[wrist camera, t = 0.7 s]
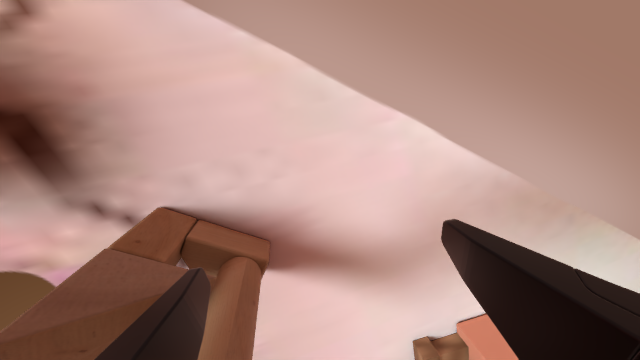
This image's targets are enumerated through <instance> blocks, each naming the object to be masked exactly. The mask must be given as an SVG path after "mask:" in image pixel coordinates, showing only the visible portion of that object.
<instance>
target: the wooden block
mask: <svg viewBox="0 0 640 360" xmlns="http://www.w3.org/2000/svg"><path fill="white" fill-rule="evenodd" d="M269 255H270V242H269V241H266V240H263V239H260V238H257V237H254V236H250V235H247V234H244V233H241V232H238V231H234V230H231V229H228V228H225V227H222V226H219V225H215V224H212V223H209V222H206V221H203V220H199V221H198V222H197V219H196V218H194V217H190V216H187V215H184V214H181V213H178V212H174V211H171V210H168V209H165V208H157V209H156V210H154V211H153V212H152V213H151V214H149V215H148V216H147V217H146V218H144V219H143V220H142V221H141V222H139V223H138V224H137V225H136V226H134V227H133V228H132V229H130V230H129V231H128V232H127V233H125V234H124V235H123V236H122V237H120V238H119V239H118V240H117V241H115V242H114V243H113V244H112V245H110V246H109V247H108V248H107V249H104V250H103V251H101V252H100V253H99V254H98V255H96V256H95V257H94V258H93V259H91V260H90V261H89V262H88V263H86V264H85V265H84V266H83V267H81V268H80V269H79V270H77V271H76V272H75V273H74V274H72V275H71V276H70V277H69V278H67V279H66V280H65V281H64V282H62V283H61V284H60V285H58V286H57V287H56V288H55V289H53V290H52V291H51V292H50V293H48V294H47V295H46V296H45V297H43V298H42V299H41V300H40V301H38V302H37V303H36V304H35V305H33V306H32V307H31V308H29V309H28V310H27V311H26V312H24V313H23V314H22V315H21V316H19V317H18V318H17V319H15V320H14V321H13V322H12V323H10V324H9V325H8V326H7V327H5V328H4V329H3V330H2V331H0V360H94V359H95V358H96V357H97V356H98V355H99V354H100V353H101V352H102V351H103V350H105V349H106V348H107V347H108V346H109V345H110V344H111V343H112V342H113V341H114V340H115V339H116V338H117V337H118V336H119V335H120V334H121V333H123V332H124V331H125V330H126V329H127V328H128V327H129V326H130V325H131V324H132V323H133V322H134V321H135V320H136V319H137V318H138V317H139V316H140V315H142V314H143V313H144V312H145V311H146V310H147V309H148V308H149V307H150V306H151V305H152V304H153V303H154V302H155V301H156V300H157V299H158V298H159V297H161V296H162V295H163V294H164V293H165V292H166V291H167V290H168V289H169V288H170V287H171V286H172V285H173V284H174V283H175V282H176V281H177V280H178V279H180V278H181V277H182V276H183V275H184V274H185V273H186V272H187V271H188V269H184V268H180V267H177V266H176V265H177V263H178V262H179V260H180V259H181V257H182V259H183V260H184V262H185V263H186V265H187V266H188V268H189V269H192V268H198V267H202V268H203V269H204V271H205V273H206V275H207V277H208V279H209V281H210V284H211V291H210V298H209V305H208V312H207V319H206V325H205V331H204V336H203V340H202V344H201V348H200V352H199V356H198V360H252V356H253V347H254V338H255V329H256V320H257V311H258V302H259V293H260V284H261V279H262V277H263V275H264V272H265V270H266V268H267V266H268V263H269Z"/></svg>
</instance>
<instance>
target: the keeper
mask: <svg viewBox="0 0 640 360" xmlns="http://www.w3.org/2000/svg"><path fill="white" fill-rule="evenodd" d="M457 333H458V334H459V336H460V337H461V338H462V339H463V341H464V342H465V343H466V344H467V346H468V347H469V360H519V359H518V358H517V356H516V355H515V353H514V352H513V351H512V349H511V348H510V346H509V345H508V344H507V342H506V341H505V339H504V338H503V336H502V335H501V334H500V332H499V331H498V329H497V328H496V326H495V325H494V324H493V322H492V321H491V319H490V318H489V316H488V315H487V314H486V315H483V316H480V317H477V318H474V319H470V320H467V321H464V322H461V323H458V324H457Z"/></svg>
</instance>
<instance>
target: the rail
mask: <svg viewBox="0 0 640 360" xmlns="http://www.w3.org/2000/svg"><path fill="white" fill-rule="evenodd" d="M413 347H414V356H415V360H469V347H468V346H467V344H466V343H465V342H464V341H463V339H462V338H461V337H460V336H459V334H458V333H455V334H452V335H449V336H446V337H442V338H439V339H436V340H433V341H430V340H429V339H428V337H424V338H421V339H418V340H414V341H413Z"/></svg>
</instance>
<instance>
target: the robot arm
mask: <svg viewBox="0 0 640 360" xmlns="http://www.w3.org/2000/svg"><path fill="white" fill-rule="evenodd" d="M441 240H442V243H443V245H444V247H445V249H446V251H447V253H448V254H449V256H450V258H451V260H452V261H453V263H454V265H455V267H456V269H457V270H458V272H459V274H460V276H461V277H462V279H463V281H464V282H465V284H466V285H467V287H468V288H469V289H470V291H471V292H472V294H473V295H474V297H475V298H476V299H477V301H478V302H479V304H480V305H481V306H482V308H483V309H484V311H485V312H486V314H487V315H488V316H489V318H490V319H491V321H492V322H493V324H494V325H495V326H496V328H497V329H498V331H499V332H500V334H501V335H502V336H503V338H504V339H505V341H506V342H507V344H508V345H509V346H510V348H511V349H512V351H513V352H514V353H515V355H516V356H517V358H518V359H519V360H640V293H637V292H634V291H631V290H629V289H626V288H623V287H621V286H618V285H615V284H613V283H610V282H608V281H605V280H603V279H600V278H598V277H595V276H593V275H590V274H588V273H586V272H583V271H581V270H578V269H573V267H571V266H568V265H566V264H564V263H561V262H559V261H556V260H554V259H551V258H549V257H547V256H544V255H542V254H539V253H537V252H534V251H532V250H529V249H527V248H525V247H522V246H520V245H517V244H515V243H512V242H510V241H508V240H505V239H503V238H500V237H498V236H495V235H493V234H491V233H488V232H486V231H483V230H481V229H478V228H476V227H474V226H471V225H469V224H466V223H464V222H461V221H459V220H456V219H452V220H446V221H444V222H443V227H442V236H441ZM210 291H211V284H210V281H209V279H208V277H207V275H206V273H205V271H204V269H203V268H202V267H198V268H192V269H189V270H188V271H187V272H186V273H185V274H184V275H183V276H182V277H181V278H180V279H178V280H177V281H176V282H175V283H174V284H173V285H172V286H171V287H170V288H169V289H168V290H167V291H166V292H165V293H164V294H163V295H162V296H161V297H159V298H158V299H157V300H156V301H155V302H154V303H153V304H152V305H151V306H150V307H149V308H148V309H147V310H146V311H145V312H144V313H143V314H142V315H140V316H139V317H138V318H137V319H136V320H135V321H134V322H133V323H132V324H131V325H130V326H129V327H128V328H127V329H126V330H125V331H124V332H123V333H121V334H120V335H119V336H118V337H117V338H116V339H115V340H114V341H113V342H112V343H111V344H110V345H109V346H108V347H107V348H106V349H105V350H103V351H102V352H101V353H100V354H99V355H98V356H97V357H96V358H95V359H94V360H198V356H199V352H200V348H201V344H202V340H203V336H204V331H205V325H206V319H207V312H208V305H209V298H210Z"/></svg>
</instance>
